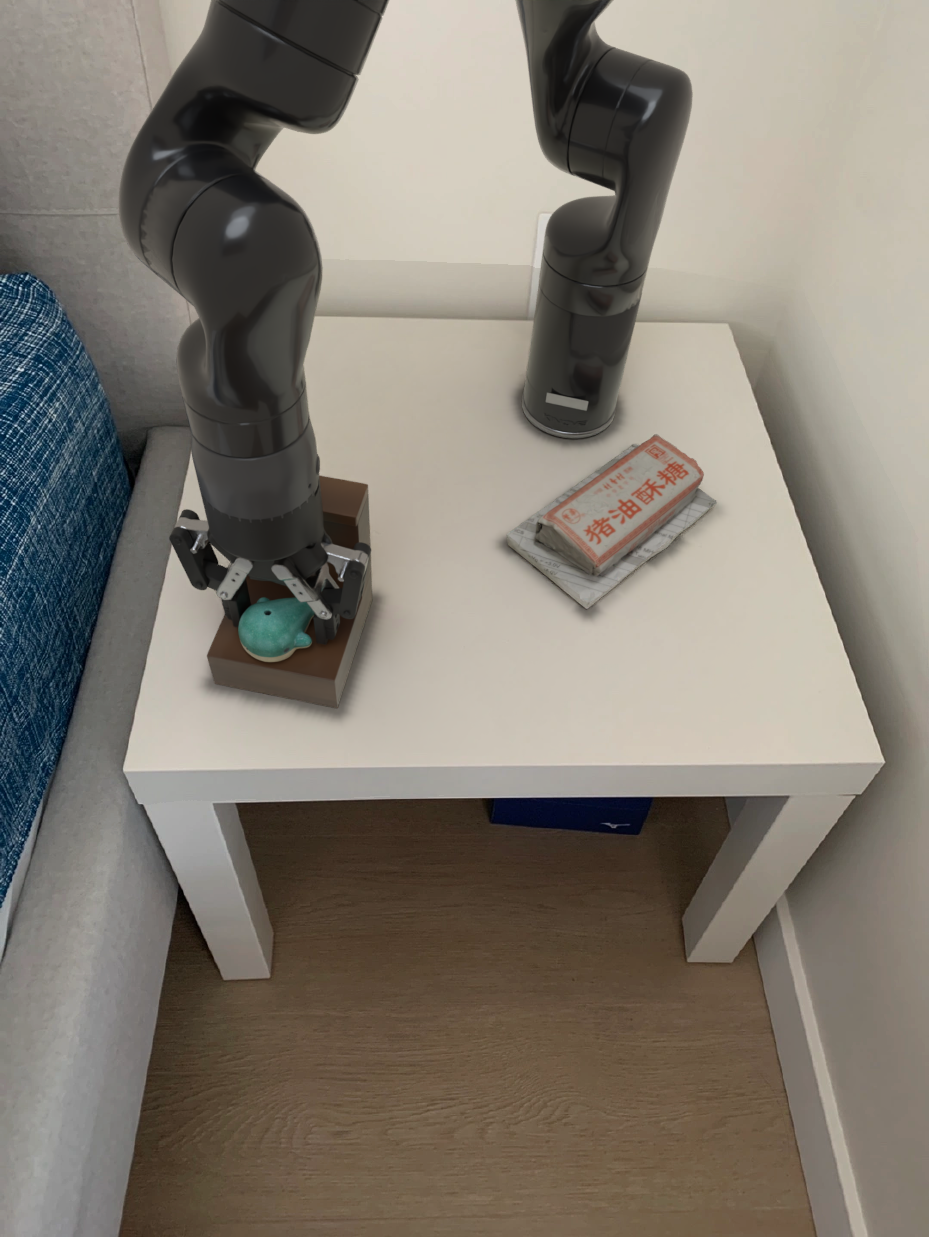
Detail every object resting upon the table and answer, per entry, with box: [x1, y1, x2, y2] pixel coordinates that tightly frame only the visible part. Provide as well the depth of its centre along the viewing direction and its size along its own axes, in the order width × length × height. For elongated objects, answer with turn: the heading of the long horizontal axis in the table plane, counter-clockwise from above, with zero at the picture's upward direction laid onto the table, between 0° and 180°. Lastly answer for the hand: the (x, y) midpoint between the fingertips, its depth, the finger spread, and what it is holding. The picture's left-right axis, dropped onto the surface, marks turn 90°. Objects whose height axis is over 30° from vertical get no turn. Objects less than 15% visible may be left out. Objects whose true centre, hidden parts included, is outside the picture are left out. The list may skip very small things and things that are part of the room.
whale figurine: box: [238, 597, 315, 662], centre depth 74 cm, size 6×7×4 cm
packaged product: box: [506, 433, 718, 610], centre depth 87 cm, size 18×5×10 cm
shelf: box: [206, 474, 373, 709], centre depth 74 cm, size 11×10×14 cm
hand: (284, 626), depth 75 cm, fingers closed on whale figurine, 6 cm apart
